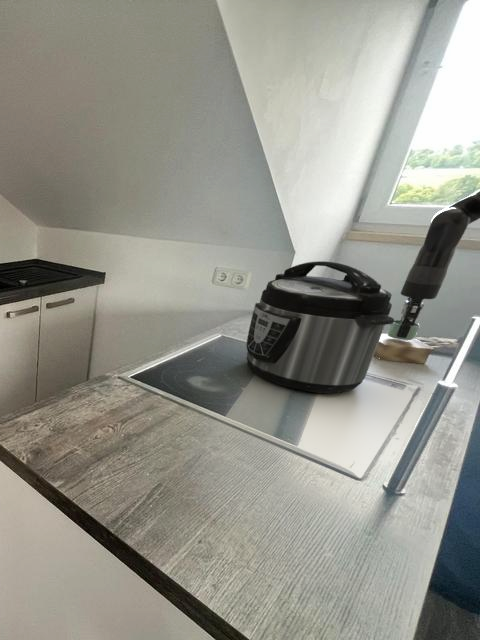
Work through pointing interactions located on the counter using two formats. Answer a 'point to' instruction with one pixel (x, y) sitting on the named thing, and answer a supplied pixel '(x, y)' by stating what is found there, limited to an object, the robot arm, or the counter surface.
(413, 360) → the riser
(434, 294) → the robot arm
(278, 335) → the pressure cooker
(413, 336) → the bowl
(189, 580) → the counter surface
